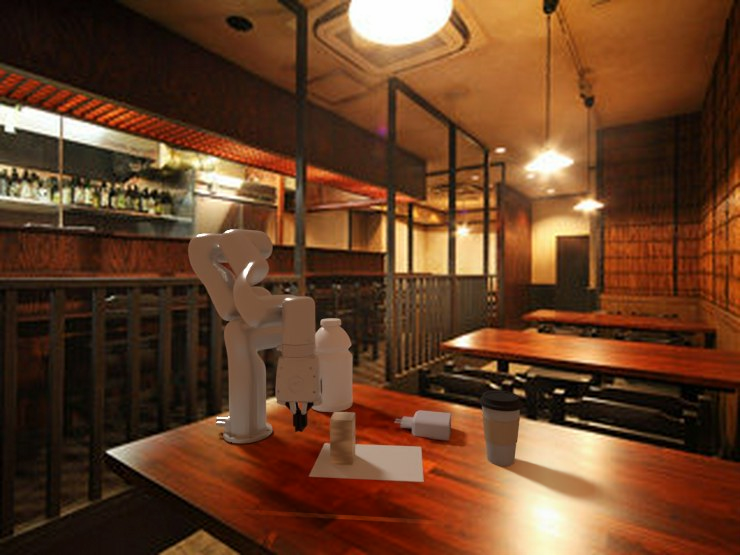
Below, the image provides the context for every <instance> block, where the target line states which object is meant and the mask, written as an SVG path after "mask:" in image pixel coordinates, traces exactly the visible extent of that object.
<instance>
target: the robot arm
mask: <svg viewBox="0 0 740 555" xmlns="http://www.w3.org/2000/svg"><path fill="white" fill-rule="evenodd" d="M187 252H188V253H187V254H188V260H189V263H190V267H191V268H192V271H193V272H194V273H195V275H196V276H197V278H198V279H199V280H200V282H201V283H202V284H203V285H204V287H205V289H206V291H207V293H208V295H209V297H210V299H211V302H212V304H213V306H214V308H215V310H216V312H217V313H218V315H219V317H220V318H221V319H222V320H223V321H227V322H228V323H226V325H225V327H224V330H223V337H224V343H225V349H226V355H227V366H228V367H227V368H228V407H229V408H228V417H227V416H217V417H216V419H215V424H216V425H215V426H216V427H217V428H224V430H223V440H225V441H226V442H228V443H231V442H232V444H249V443H250V444H251V443H256V442H259V441H262V440H264V439H266V438H268V437H269V436H270V435H271V434H272V433H273V426H272V424H271V423H269V422H267V371H266V370H267V369H266V365H265V362H264V360H263V359H262V358H261V356H260V355H259V353H258V352H259V351H263V350H268V349H274V348H276V351H277V352H281V356H279V357H278V359H277V360H278V361H277V365H276V366H277V367H276V374H275V377H276V378H275V389H274V390H275V399H276V403H277V405H280V406H281V405H282V406H285V407H286V408H287V410H289V411H290V413H291V415H292V426H293V427H294V431H295V433H296V432H297V433H298V432H300V433H302V432H304V429H306V427H308V412H309V411H310V410H311V409H312V407H313V406H318V405H321V404H322V403H323V398H322V391H323V386H322V374H321V366H320V361H319V356H318V355H316V342H315V341H316V340H315V334H316V303H315V300H314V298H312V297H311V296H297V295H293V294H272V293H271V292H270V291H269V290H268V289H266V288H265V287H262V286H255V285H257V284H259V283H260V282H262V281H263V280H264V279H265V278H266V277H267V276H268V274H269V271H270V266H269V263H268V261H267V259H269V257H271V255H272V252H273V241H272V239H271V238H270V236H269V235H268V234H267V233H266V232H264V231H261V230H253V229H241V228H233V229H229V230H226V231H224V232H223V233H210V232H209V233H201V234H197V235H196V236H194V237H192V238H191V240H190V241H189V244H188V250H187ZM221 263H227V264H228V265H229V266H230V267H231V269H232V271H233V272H232V271H231V270H230V269H228V268H227V267H225V266H224V265H222V264H221ZM300 403H301V409H300Z"/></svg>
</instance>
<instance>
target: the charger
mask: <svg viewBox="0 0 740 555" xmlns="http://www.w3.org/2000/svg"><path fill="white" fill-rule="evenodd" d="M394 424H400V428H401V429H402V428H403V429H409V430H410V429H411V435H413V436H414V437H421V438H422V437H423V438H428V440H438V441H447V442H449V441H450V437H451V430H452V413H451V412H441V411H429V410H421V409H420V410H417V411H415V413H414V415H413V416H402V418H401V419H399V418H395V421H394Z"/></svg>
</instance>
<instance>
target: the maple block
mask: <svg viewBox="0 0 740 555" xmlns="http://www.w3.org/2000/svg"><path fill="white" fill-rule="evenodd" d="M329 443H330V464H336V465H353V461H354V458H355V444H356V412H353V411H352V412H351V411H349V412H348V411H339V412H332V415H331V417H330V419H329Z"/></svg>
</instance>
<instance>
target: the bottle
mask: <svg viewBox="0 0 740 555" xmlns="http://www.w3.org/2000/svg"><path fill="white" fill-rule="evenodd" d="M341 326H342V320H341V319H340V318H337V317H336V318H331V317H330V318H329V317H328V318H323V319H321V320H320V327H319V329H318V330H317V331H315V340H316V341H315V342H316V355H318V356H319V361H320V366H321V374H322V386H323V391H322V398H323V403H322V404H321V405H318V406H313V407H312V408H311V409H313V410H315V411H317V412H322V413H334V412H344V411H346V410H348V409H350V408H351V407H352V406H353V404H354V403H353V402H354V397H353V359H354V358H353V353H352V352H351V351H350V350H349V349H350V347H351V346H352V341H351V338H350V336H349V335H348V333H347V332H346V330H344V328H342V327H341Z"/></svg>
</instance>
